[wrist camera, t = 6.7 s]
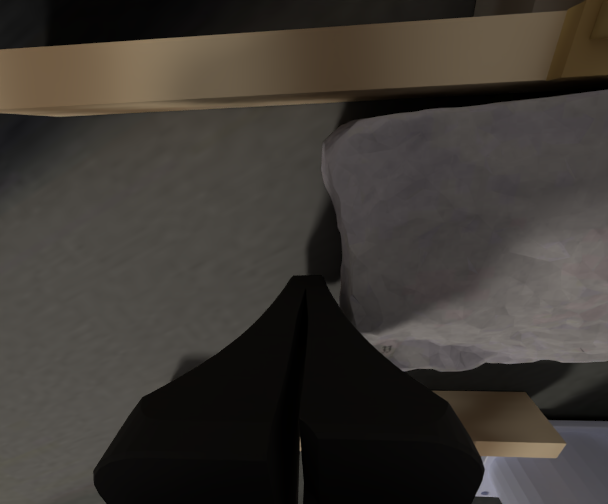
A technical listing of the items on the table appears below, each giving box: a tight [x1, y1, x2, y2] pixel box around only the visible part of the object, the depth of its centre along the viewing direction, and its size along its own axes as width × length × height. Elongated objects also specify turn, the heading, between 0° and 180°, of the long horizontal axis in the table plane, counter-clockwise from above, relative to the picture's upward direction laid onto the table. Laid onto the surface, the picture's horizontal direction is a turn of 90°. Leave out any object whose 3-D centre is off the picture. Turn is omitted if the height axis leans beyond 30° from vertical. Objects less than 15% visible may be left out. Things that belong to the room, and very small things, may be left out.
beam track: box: [0, 0, 608, 458], centre depth 9 cm, size 20×19×4 cm
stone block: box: [321, 90, 608, 372], centre depth 9 cm, size 12×5×10 cm
